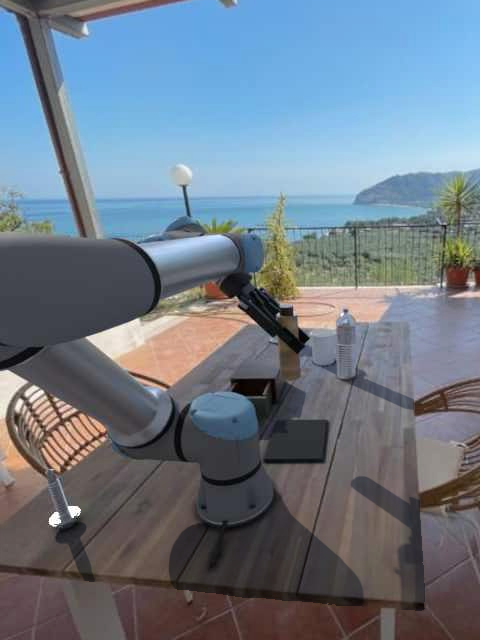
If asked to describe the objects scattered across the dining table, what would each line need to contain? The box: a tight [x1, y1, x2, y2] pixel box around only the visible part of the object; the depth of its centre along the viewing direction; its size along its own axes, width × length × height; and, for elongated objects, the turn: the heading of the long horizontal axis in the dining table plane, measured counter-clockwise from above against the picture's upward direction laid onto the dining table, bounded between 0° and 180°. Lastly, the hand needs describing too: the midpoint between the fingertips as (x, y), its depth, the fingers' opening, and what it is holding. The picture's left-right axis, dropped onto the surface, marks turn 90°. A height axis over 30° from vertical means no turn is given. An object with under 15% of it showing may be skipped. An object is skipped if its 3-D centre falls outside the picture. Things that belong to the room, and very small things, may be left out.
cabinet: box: [229, 358, 286, 404], centre depth 126 cm, size 16×14×9 cm
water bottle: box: [335, 307, 357, 381], centre depth 135 cm, size 7×7×25 cm
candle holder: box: [309, 328, 336, 366], centre depth 150 cm, size 10×10×12 cm
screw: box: [44, 468, 81, 530], centre depth 73 cm, size 13×5×5 cm
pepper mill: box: [276, 303, 302, 382], centre depth 93 cm, size 5×5×18 cm
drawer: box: [228, 381, 274, 421], centre depth 113 cm, size 19×12×7 cm, turn 1°
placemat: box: [263, 419, 328, 463], centre depth 102 cm, size 18×14×1 cm
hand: (303, 345), depth 93 cm, fingers closed on pepper mill, 5 cm apart
